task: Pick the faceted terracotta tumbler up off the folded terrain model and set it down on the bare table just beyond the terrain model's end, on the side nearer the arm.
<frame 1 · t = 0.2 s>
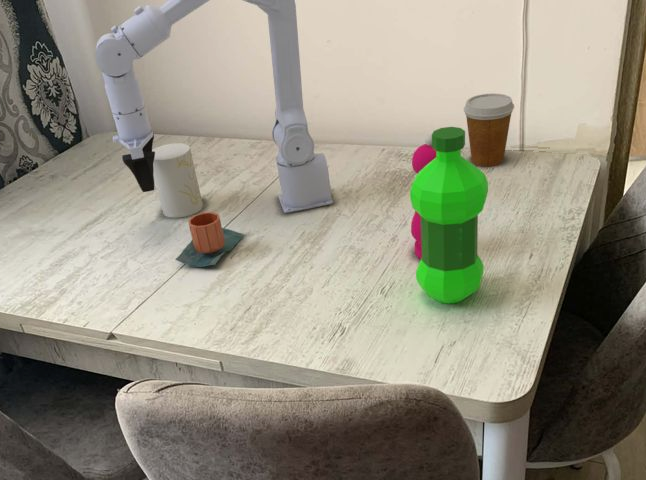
hand: (148, 182, 134), 10 cm above the table, tool pointing down, fingers open, 7 cm apart
pepper mill: (434, 253, 121), on the table
faceted terracotta tumbler: (210, 246, 129), point 2 cm above the table, touching terrain model
disposable coffee cup: (487, 161, 147), on the table
white cylinder: (183, 209, 147), on the table
terrain model: (211, 252, 131), on the table, touching faceted terracotta tumbler
plastic bottle: (449, 295, 110), on the table
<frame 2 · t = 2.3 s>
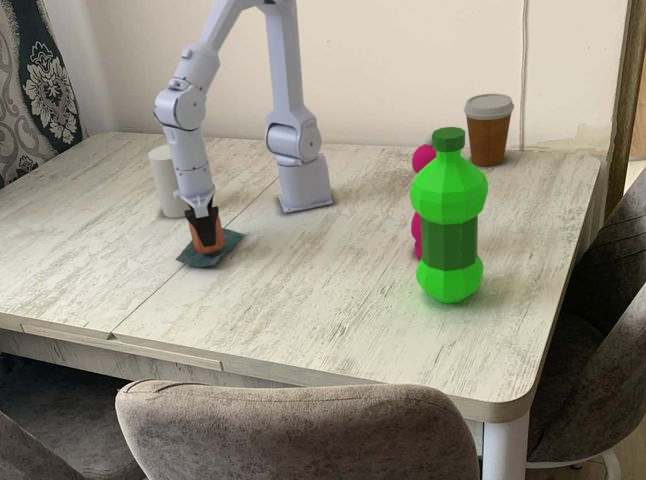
hand: (208, 237, 128), 3 cm above the table, tool pointing down, fingers closed on faceted terracotta tumbler, 5 cm apart
faceted terracotta tumbler: (210, 246, 129), point 2 cm above the table, touching gripper
terrain model: (211, 252, 131), on the table
everything else where it was.
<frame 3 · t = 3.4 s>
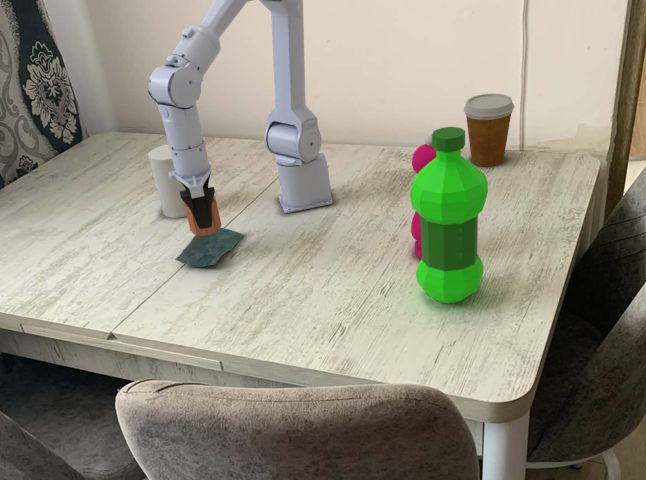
hand: (204, 219, 126), 7 cm above the table, tool pointing down, fingers closed on faceted terracotta tumbler, 5 cm apart
faceted terracotta tumbler: (206, 228, 127), point 5 cm above the table, touching gripper
everything else where it was.
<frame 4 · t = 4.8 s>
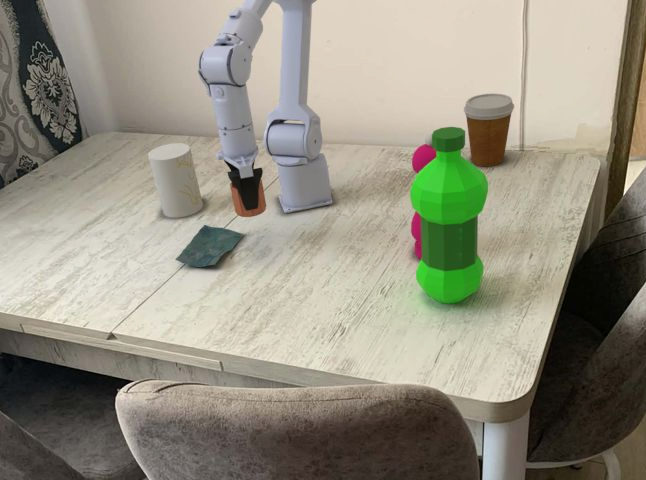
hand: (249, 201, 125), 9 cm above the table, tool pointing down, fingers closed on faceted terracotta tumbler, 5 cm apart
faceted terracotta tumbler: (251, 210, 126), point 7 cm above the table, touching gripper
everything else where it was.
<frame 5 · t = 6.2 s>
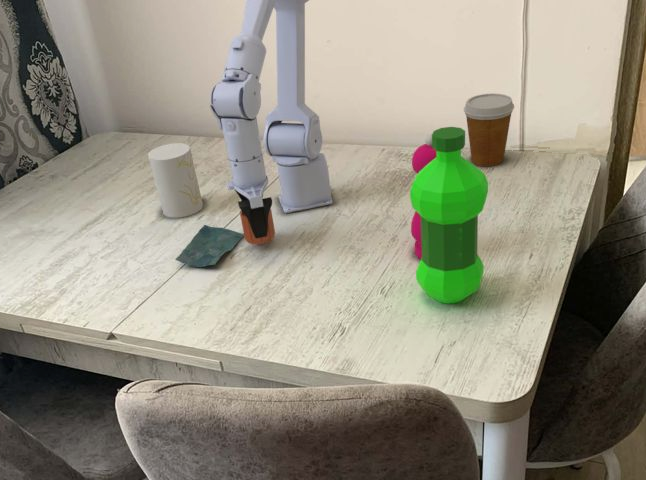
hand: (258, 228, 129), 3 cm above the table, tool pointing down, fingers closed on faceted terracotta tumbler, 5 cm apart
faceted terracotta tumbler: (260, 237, 129), point 1 cm above the table, touching gripper
everything else where it was.
when the fingers open (2 cm above the table, at t = 7.3 s): faceted terracotta tumbler stays where it is, on the table.
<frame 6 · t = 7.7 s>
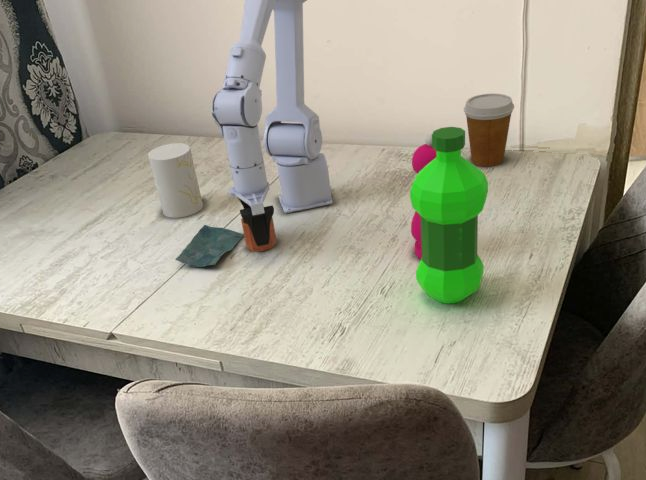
hand: (259, 234, 129), 2 cm above the table, tool pointing down, fingers open, 7 cm apart
faceted terracotta tumbler: (261, 244, 130), on the table
everything else where it was.
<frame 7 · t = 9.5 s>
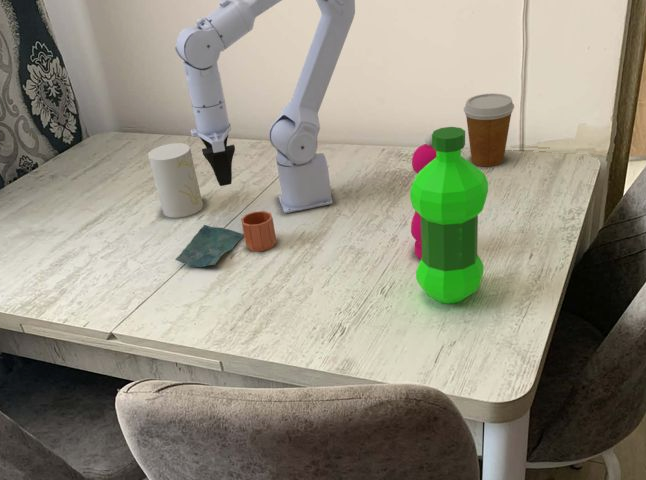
hand: (223, 176, 133), 9 cm above the table, tool pointing down, fingers open, 7 cm apart
nothing on the table moved.
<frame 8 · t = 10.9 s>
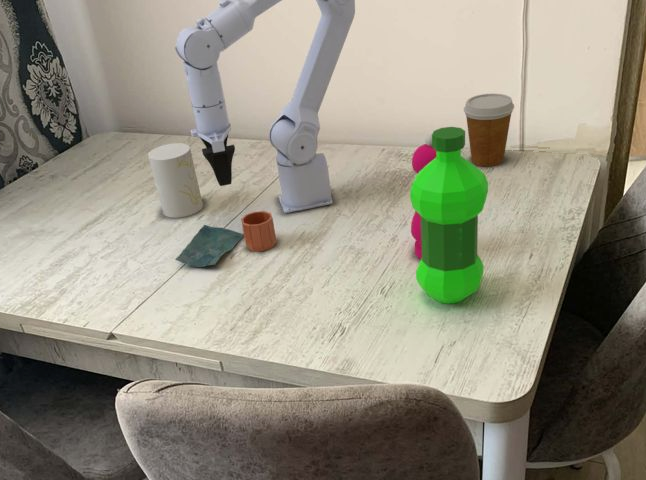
hand: (223, 176, 133), 9 cm above the table, tool pointing down, fingers open, 7 cm apart
nothing on the table moved.
at the end: faceted terracotta tumbler 0.1 cm from the target spot, on the table; faceted terracotta tumbler tilted 0°; the gripper is holding nothing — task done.
